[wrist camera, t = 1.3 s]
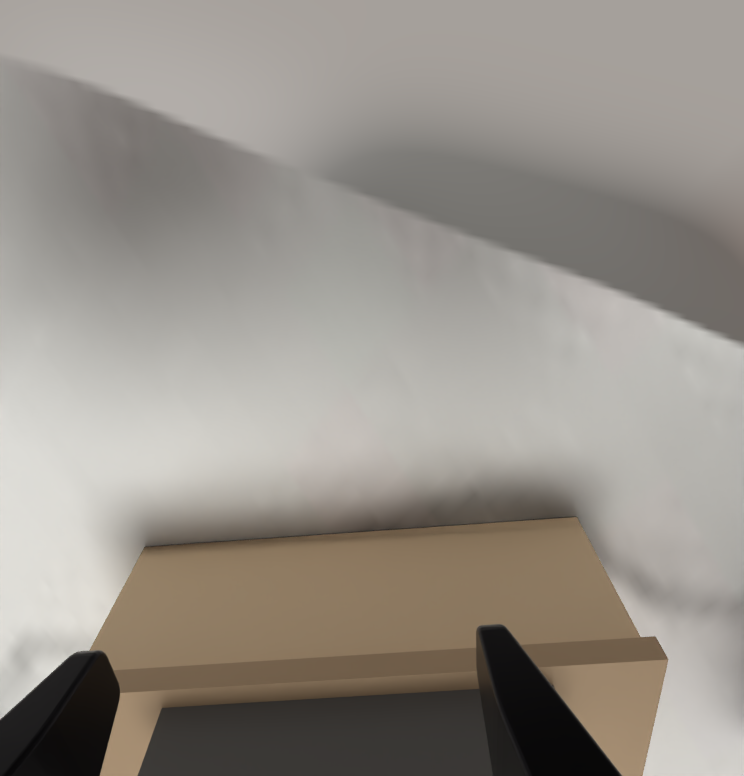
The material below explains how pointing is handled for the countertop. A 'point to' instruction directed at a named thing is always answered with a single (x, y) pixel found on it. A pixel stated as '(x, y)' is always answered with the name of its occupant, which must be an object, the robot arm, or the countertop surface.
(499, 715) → the robot arm
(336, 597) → the carton
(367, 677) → the carton lid
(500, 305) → the countertop surface
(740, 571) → the countertop surface
